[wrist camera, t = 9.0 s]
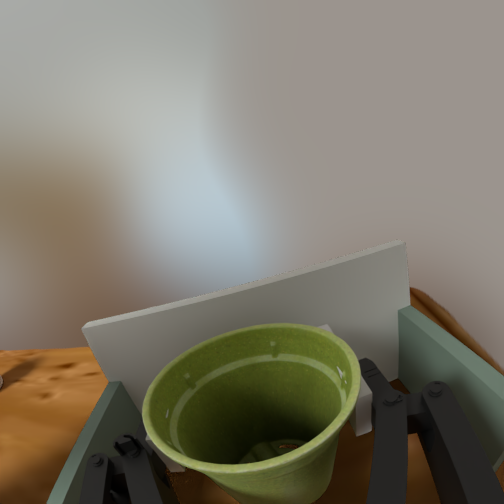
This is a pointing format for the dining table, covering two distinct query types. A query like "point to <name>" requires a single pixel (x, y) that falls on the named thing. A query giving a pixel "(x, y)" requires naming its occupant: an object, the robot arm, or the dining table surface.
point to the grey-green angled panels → (298, 312)
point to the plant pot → (257, 410)
